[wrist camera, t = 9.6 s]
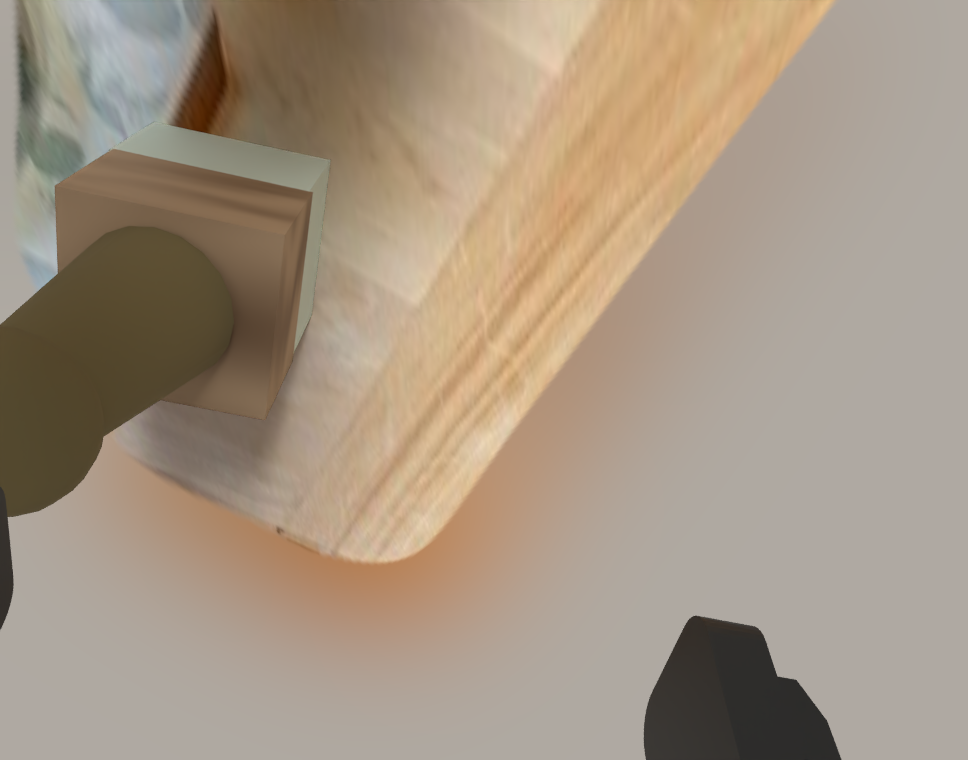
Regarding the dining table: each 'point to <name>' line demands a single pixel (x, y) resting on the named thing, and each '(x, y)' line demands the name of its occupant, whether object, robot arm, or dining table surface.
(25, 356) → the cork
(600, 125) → the dining table surface
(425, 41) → the dining table surface
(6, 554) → the robot arm
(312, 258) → the tower base block
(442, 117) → the dining table surface
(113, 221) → the tower top block
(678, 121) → the dining table surface
